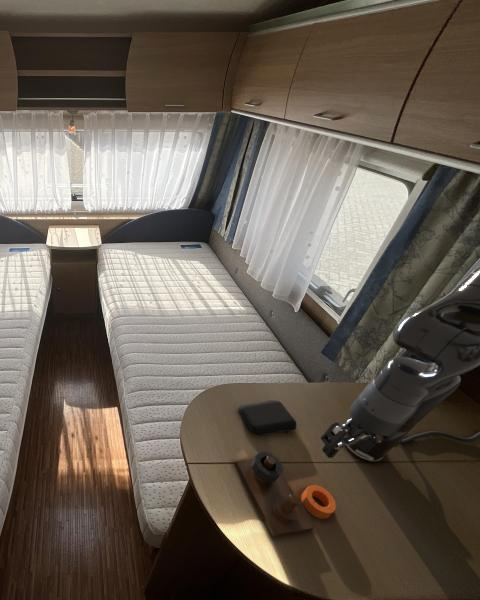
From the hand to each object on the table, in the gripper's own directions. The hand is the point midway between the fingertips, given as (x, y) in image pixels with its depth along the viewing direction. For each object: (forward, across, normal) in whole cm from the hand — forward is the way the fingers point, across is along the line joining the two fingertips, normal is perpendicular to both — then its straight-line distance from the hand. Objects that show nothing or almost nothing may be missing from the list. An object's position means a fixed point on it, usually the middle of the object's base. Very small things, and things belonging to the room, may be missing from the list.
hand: (344, 451), depth 73 cm
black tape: (+15, -10, +5) cm, 19 cm away
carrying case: (+19, +1, +20) cm, 28 cm away
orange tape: (+19, -1, -3) cm, 19 cm away
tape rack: (+19, -10, +1) cm, 22 cm away
